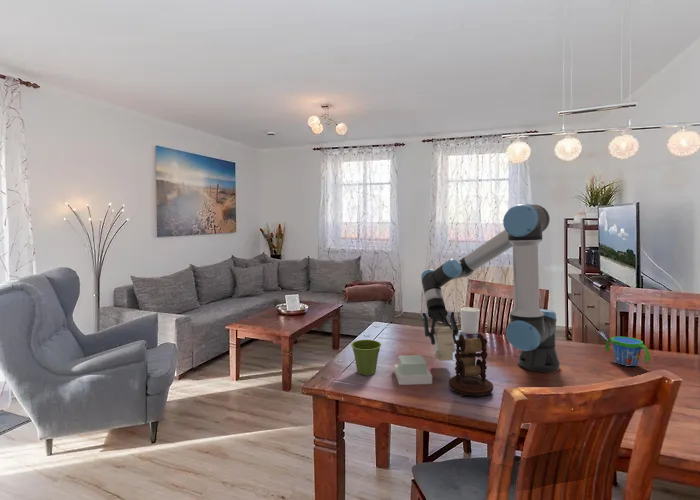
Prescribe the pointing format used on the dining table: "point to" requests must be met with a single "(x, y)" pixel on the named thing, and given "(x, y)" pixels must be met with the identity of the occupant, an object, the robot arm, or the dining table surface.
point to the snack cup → (627, 350)
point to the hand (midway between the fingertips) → (445, 351)
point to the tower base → (412, 377)
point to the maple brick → (444, 343)
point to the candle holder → (469, 320)
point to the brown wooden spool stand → (471, 367)
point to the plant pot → (366, 355)
